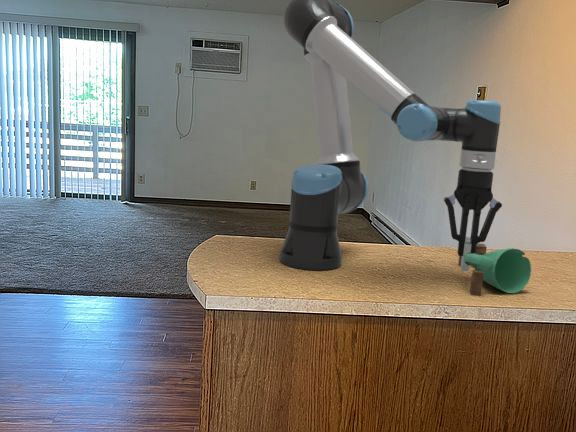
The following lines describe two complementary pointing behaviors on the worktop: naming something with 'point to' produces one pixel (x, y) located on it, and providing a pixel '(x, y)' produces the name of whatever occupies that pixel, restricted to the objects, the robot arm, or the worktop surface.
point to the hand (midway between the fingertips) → (464, 269)
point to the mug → (502, 268)
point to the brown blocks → (476, 272)
